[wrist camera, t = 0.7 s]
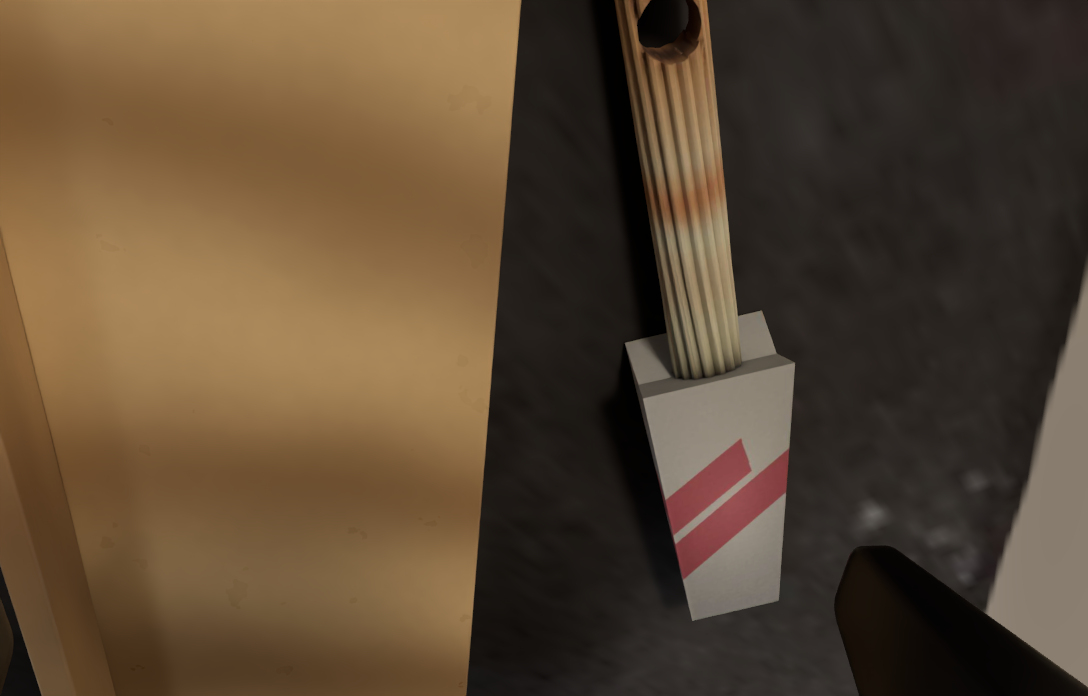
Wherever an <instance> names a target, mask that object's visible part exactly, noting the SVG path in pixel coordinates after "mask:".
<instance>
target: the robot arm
mask: <svg viewBox="0 0 1088 696" xmlns="http://www.w3.org/2000/svg"><path fill="white" fill-rule="evenodd" d="M834 610H835V617H836V621H837V624H838V627H839V631H840V634H841V637H842V640H843V644H844V647H845V650H846V654H847V657H848V660H849V663H850V667H851V670H852V673H853V677H854V680H855V683H856V686H857V690H858V693H859V696H1088V687H1087V686H1085V685H1084V684H1083V683H1081V682H1080V681H1078V680H1077V679H1076V678H1074V677H1073V676H1071V675H1070V674H1069V673H1067V672H1066V671H1064V670H1063V669H1062V668H1060V667H1059V666H1058V665H1056V664H1055V663H1053V662H1052V661H1051V660H1049V659H1048V658H1046V657H1045V656H1044V655H1042V654H1041V653H1040V652H1038V651H1037V650H1035V649H1034V648H1033V647H1031V646H1030V645H1028V644H1027V643H1026V642H1024V641H1023V640H1021V639H1020V638H1019V637H1017V636H1016V635H1015V634H1013V633H1012V632H1010V631H1009V630H1008V629H1006V628H1005V627H1003V626H1002V625H1001V624H999V623H998V622H996V621H995V620H994V619H992V618H991V617H990V616H988V615H987V614H985V613H984V612H983V611H981V610H980V609H979V608H977V607H976V606H974V605H973V604H972V603H970V602H969V601H967V600H966V599H965V598H963V597H962V596H960V595H959V594H958V593H956V592H955V591H954V590H952V589H951V588H949V587H948V586H947V585H945V584H944V583H942V582H941V581H940V580H938V579H937V578H936V577H934V576H933V575H931V574H930V573H929V572H927V571H926V570H924V569H923V568H922V567H920V566H919V565H917V564H916V563H915V562H913V561H912V560H911V559H909V558H908V557H906V556H905V555H904V554H902V553H901V552H899V551H898V550H896V549H895V548H893V547H890V546H860V547H857V548H855V549H854V550H853V551H852V552H851V554H850V556H849V558H848V561H847V564H846V567H845V570H844V573H843V575H842V578H841V581H840V584H839V587H838V590H837V593H836V596H835V603H834ZM12 652H13V633H12V629H11V627H10V624H9V621H8V618H7V615H6V613H5V610H4V607H3V604H2V601H1V599H0V695H1V691H2V688H3V685H4V681H5V678H6V674H7V671H8V668H9V664H10V661H11V657H12Z"/></svg>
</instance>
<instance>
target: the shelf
mask: <svg viewBox="0 0 1088 696" xmlns="http://www.w3.org/2000/svg"><path fill="white" fill-rule="evenodd" d="M520 10H521V0H0V566H1V570H2V573H3V576H4V579H5V582H6V585H7V588H8V592H9V595H10V598H11V601H12V604H13V607H14V610H15V613H16V617H17V620H18V623H19V626H20V629H21V632H22V635H23V638H24V642H25V645H26V648H27V651H28V654H29V657H30V660H31V664H32V667H33V670H34V673H35V676H36V679H37V682H38V685H39V689H40V692H41V695H42V696H466V692H467V679H468V667H469V654H470V641H471V629H472V616H473V603H474V591H475V578H476V566H477V553H478V540H479V528H480V515H481V502H482V490H483V477H484V464H485V452H486V439H487V427H488V414H489V401H490V389H491V376H492V363H493V351H494V338H495V325H496V313H497V300H498V288H499V275H500V262H501V250H502V237H503V224H504V212H505V199H506V187H507V174H508V161H509V149H510V136H511V123H512V111H513V98H514V85H515V73H516V60H517V48H518V35H519V22H520Z"/></svg>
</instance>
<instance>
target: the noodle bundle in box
mask: <svg viewBox="0 0 1088 696" xmlns="http://www.w3.org/2000/svg"><path fill="white" fill-rule="evenodd" d="M614 1H615V7H616V13H617V20H618V26H619V33H620V39H621V45H622V52H623V58H624V64H625V71H626V77H627V84H628V90H629V96H630V103H631V109H632V115H633V122H634V128H635V135H636V141H637V147H638V153H639V160H640V166H641V172H642V178H643V184H644V190H645V196H646V203H647V209H648V215H649V221H650V227H651V233H652V239H653V245H654V252H655V258H656V264H657V270H658V276H659V282H660V288H661V295H662V302H663V309H664V316H665V323H666V330H667V333H665V334H660V335H656V336H652V337H648V338H643V339H639V340H635V341H631V342H626V343H625V345H626V350H627V354H628V358H629V362H630V366H631V370H632V374H633V378H634V382H635V387H636V391H637V395H638V399H639V403H640V407H641V411H642V415H643V420H644V424H645V428H646V432H647V436H648V440H649V444H650V448H651V453H652V457H653V461H654V465H655V469H656V473H657V477H658V481H659V485H660V490H661V494H662V498H663V502H664V506H665V510H666V514H667V518H668V523H669V527H670V531H671V535H672V539H673V543H674V547H675V551H676V555H677V560H678V564H679V568H680V572H681V576H682V580H683V584H684V588H685V593H686V597H687V601H688V605H689V609H690V613H691V617H692V621H693V620H697V619H702V618H706V617H710V616H715V615H719V614H723V613H727V612H732V611H736V610H740V609H745V608H749V607H753V606H758V605H762V604H766V603H771V602H775V601H778V600H779V585H780V571H781V557H782V542H783V528H784V513H785V499H786V485H787V470H788V456H789V442H790V427H791V413H792V398H793V384H794V370H795V363H794V362H792V361H790V360H788V359H786V358H784V357H782V356H780V355H778V354H777V353H776V350H775V348H774V345H773V342H772V339H771V336H770V333H769V330H768V327H767V324H766V321H765V318H764V316H763V313H762V311H758V312H753V313H749V314H745V315H741V316H738V314H737V305H736V296H735V288H734V279H733V270H732V261H731V250H730V239H729V227H728V216H727V206H726V195H725V185H724V175H723V164H722V154H721V144H720V133H719V123H718V112H717V102H716V92H715V81H714V71H713V61H712V50H711V40H710V30H709V19H708V9H707V0H686V2H687V5H688V7H689V21H688V24H687V27H686V30H683V31H682V32H681V33H680V35H679V36H678V37H677V39H676V40H675V41H674V42H673V43H668V44H666V45H664V46H662V47H661V48H646V47H644V46H643V45H641V44H640V42H639V38H638V29H637V21H638V17H639V19H640V17H641V15H642V13H643V11H644V9H645V8H646V6H647V5H648V3H649V2H650V1H651V0H614Z"/></svg>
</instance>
